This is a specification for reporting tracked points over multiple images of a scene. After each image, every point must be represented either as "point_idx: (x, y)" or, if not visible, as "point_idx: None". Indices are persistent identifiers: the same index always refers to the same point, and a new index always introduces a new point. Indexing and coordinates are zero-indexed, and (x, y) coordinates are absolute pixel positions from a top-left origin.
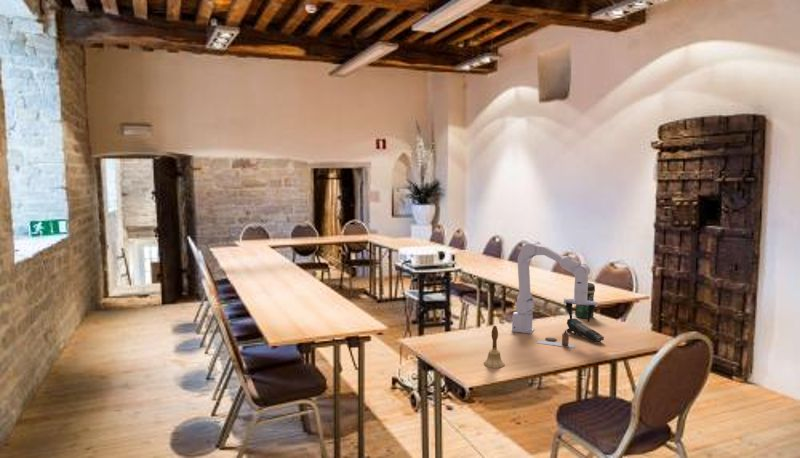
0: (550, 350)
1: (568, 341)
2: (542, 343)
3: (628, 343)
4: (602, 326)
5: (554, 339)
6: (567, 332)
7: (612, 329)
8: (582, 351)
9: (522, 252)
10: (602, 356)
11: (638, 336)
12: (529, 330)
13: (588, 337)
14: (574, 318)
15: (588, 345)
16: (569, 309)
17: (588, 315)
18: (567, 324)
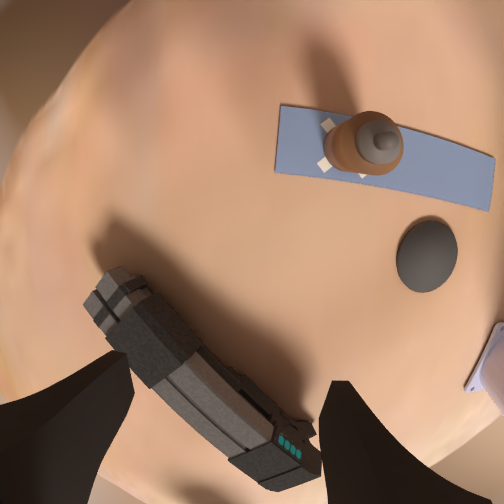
0: (418, 33)
1: (329, 139)
2: (474, 152)
3: (29, 316)
4: (167, 482)
5: (411, 257)
6: (362, 149)
7: (128, 461)
8: (220, 58)
9: None
10: (110, 32)
11: None
12: (501, 343)
13: (181, 319)
14: (275, 491)
15: (180, 211)
16: (416, 489)
17: (70, 394)
18: (317, 449)
